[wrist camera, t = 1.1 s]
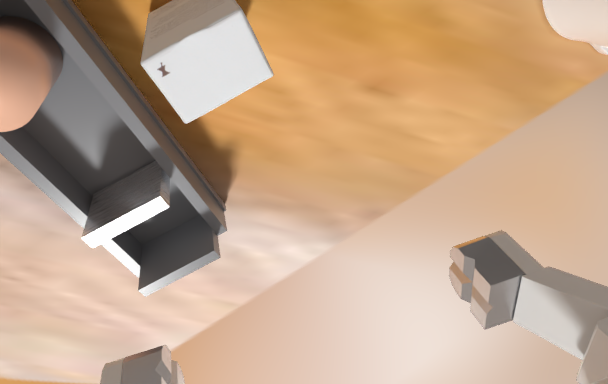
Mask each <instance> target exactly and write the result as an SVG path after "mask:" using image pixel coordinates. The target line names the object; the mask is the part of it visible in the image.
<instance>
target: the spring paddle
mask: <svg viewBox="0 0 608 384" xmlns="http://www.w3.org/2000/svg"><path fill="white" fill-rule="evenodd" d="M169 207H170V177H169V176H168V175H167V174H166V172H165V171H164V170H163V169H162V167H161V166H160V165H159V164H158V163H157V161H154V162H152V163H150V164H149V165H147V166H145V167H143V168H141V169H139V170H137V171H136V172H134V173H132V174H130V175H128V176H126V177H124V178H123V179H121V180H119V181H117V182H115V183H113V184H111V185H110V186H108V187H106V188H104V189H102V190H100V191H98V192H97V193H95V194H93V198H92V202H91V205H90V209H89V213H88V216H87V220H86V224H85V227H84V231H83V235H82V239H83V240H84V241H85V242H86V243H88V244H89V245H90V246H91V247H92V248H94V247H95V246H97V245H99V244H101V243H103V242H105V241H107V240H109V239H111V238H112V237H114V236H116V235H118V234H120V233H122V232H124V231H126V230H127V229H129V228H131V227H133V226H135V225H137V224H139V223H141V222H142V221H144V220H146V219H148V218H150V217H152V216H154V215H156V214H157V213H159V212H161V211H163V210H165V209H167V208H169Z"/></svg>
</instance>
